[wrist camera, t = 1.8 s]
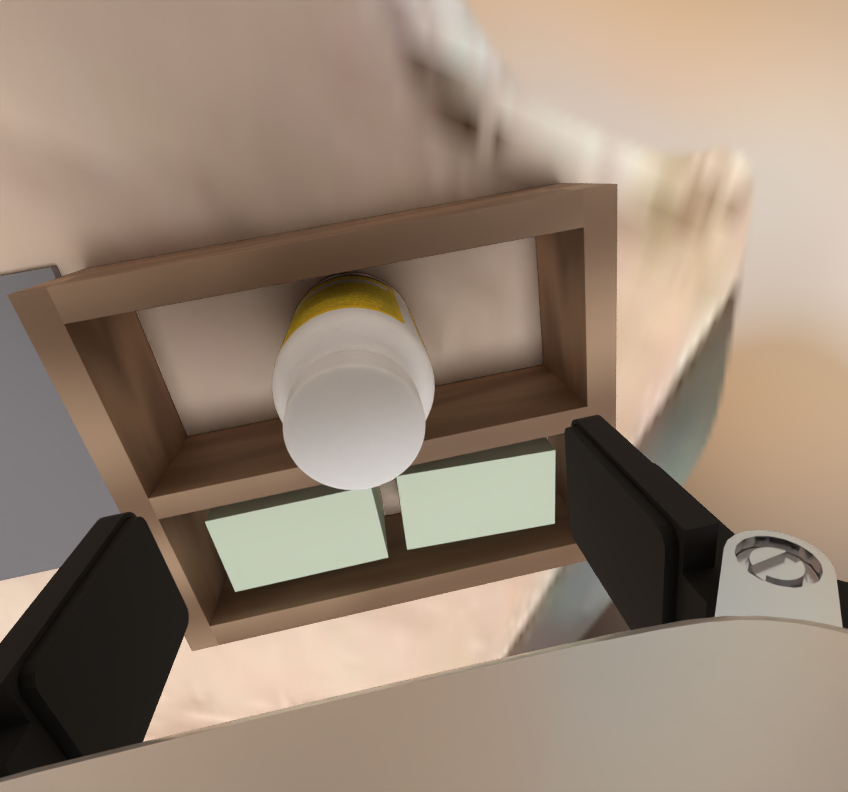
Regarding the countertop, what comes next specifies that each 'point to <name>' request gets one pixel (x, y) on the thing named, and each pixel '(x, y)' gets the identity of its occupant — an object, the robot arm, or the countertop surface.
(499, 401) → the rack
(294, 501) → the offcut
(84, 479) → the mat
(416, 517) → the offcut
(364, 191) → the countertop surface
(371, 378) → the supplement bottle
